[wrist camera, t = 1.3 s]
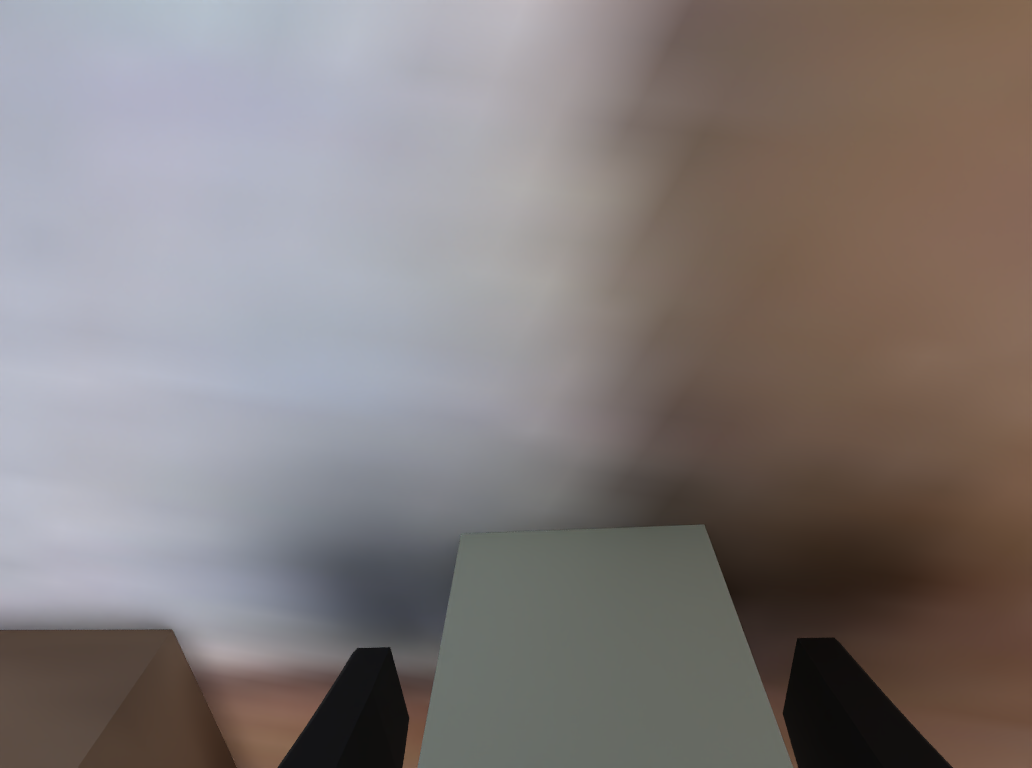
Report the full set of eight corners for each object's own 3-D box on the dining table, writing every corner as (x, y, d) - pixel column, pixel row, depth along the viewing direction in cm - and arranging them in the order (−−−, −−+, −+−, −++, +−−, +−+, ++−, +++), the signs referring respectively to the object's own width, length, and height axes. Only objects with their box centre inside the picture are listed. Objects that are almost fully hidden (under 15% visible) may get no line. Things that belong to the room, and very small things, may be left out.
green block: (691, 682, 13) (771, 1006, 8) (487, 686, 13) (457, 997, 9) (703, 522, 11) (818, 835, 6) (461, 531, 11) (405, 833, 7)
